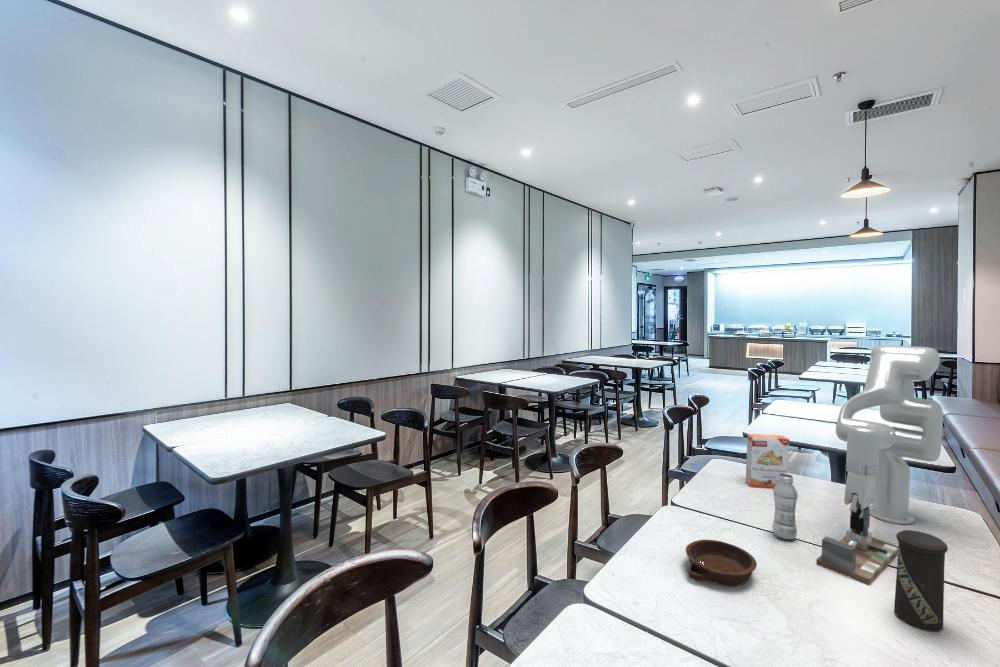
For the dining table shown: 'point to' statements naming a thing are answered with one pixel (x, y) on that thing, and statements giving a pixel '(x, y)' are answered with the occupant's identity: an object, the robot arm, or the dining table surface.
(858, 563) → the gauge base
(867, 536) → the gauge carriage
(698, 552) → the dish
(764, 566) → the dining table surface
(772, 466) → the cracker box
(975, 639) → the dining table surface
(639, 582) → the dining table surface
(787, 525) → the plastic bottle
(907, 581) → the container
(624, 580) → the dining table surface
